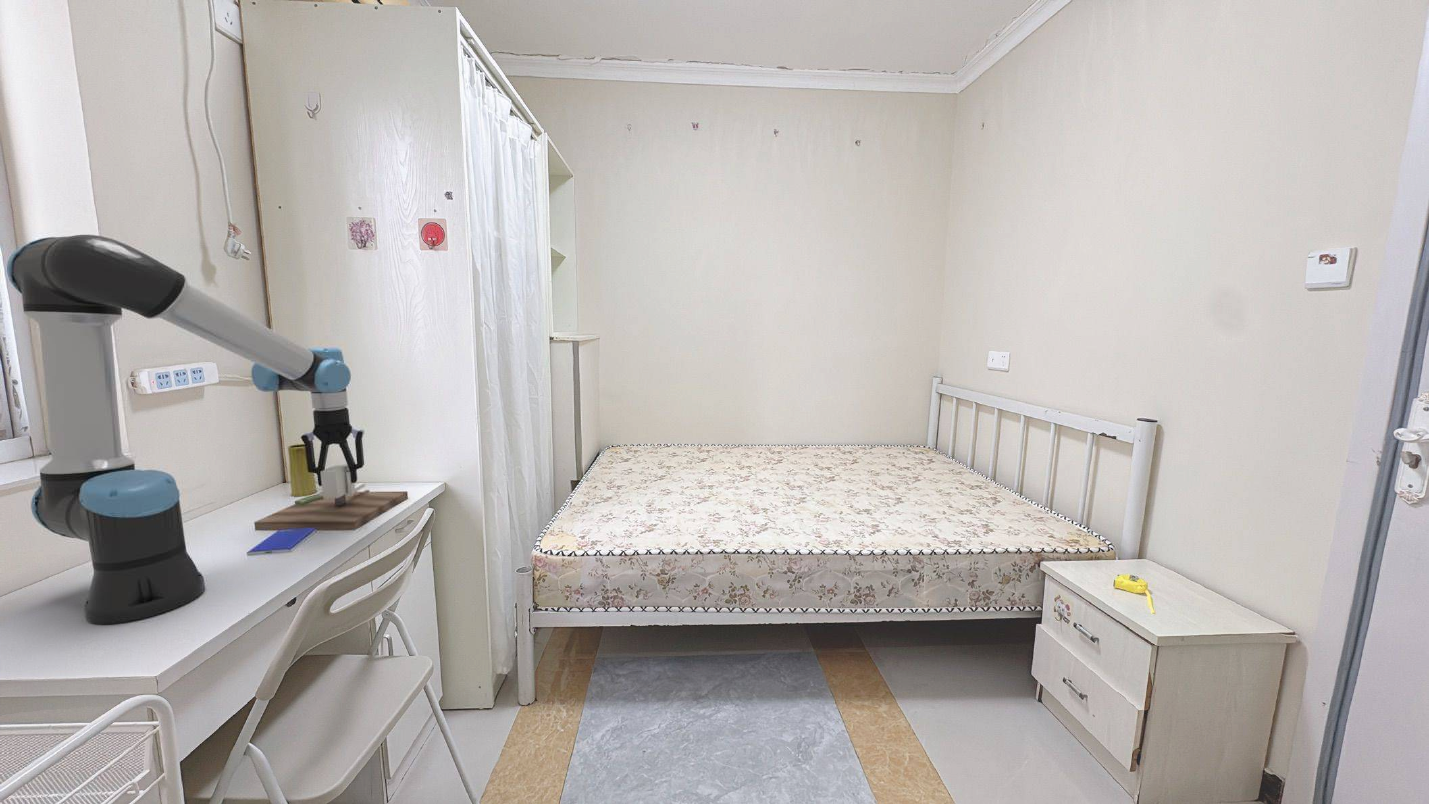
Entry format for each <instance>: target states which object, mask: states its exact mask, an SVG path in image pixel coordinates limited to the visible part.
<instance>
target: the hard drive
mask: <svg viewBox="0 0 1429 804" xmlns="http://www.w3.org/2000/svg"><path fill="white" fill-rule="evenodd" d="M315 533H317V530H316V528H303V529H289V530H276V531H275V532H274V533H273V534H271V535H269V536H267V538H266V539H264V540H262V541H261V542H260V543H258V544H257V545H256V546H254V547H253V548H251V549H250V550H248V551H247V552H246V554H247V556H250V557H251V556H259V555H260V556H262V555H273V554H287V553H291V552H293V551H294V550H295V549H297V548H298V547H299V546H300V545H302V543H304V542H305V541H306V540H307V539H309V538H310V537H311V536H313V535H315Z"/></svg>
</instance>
